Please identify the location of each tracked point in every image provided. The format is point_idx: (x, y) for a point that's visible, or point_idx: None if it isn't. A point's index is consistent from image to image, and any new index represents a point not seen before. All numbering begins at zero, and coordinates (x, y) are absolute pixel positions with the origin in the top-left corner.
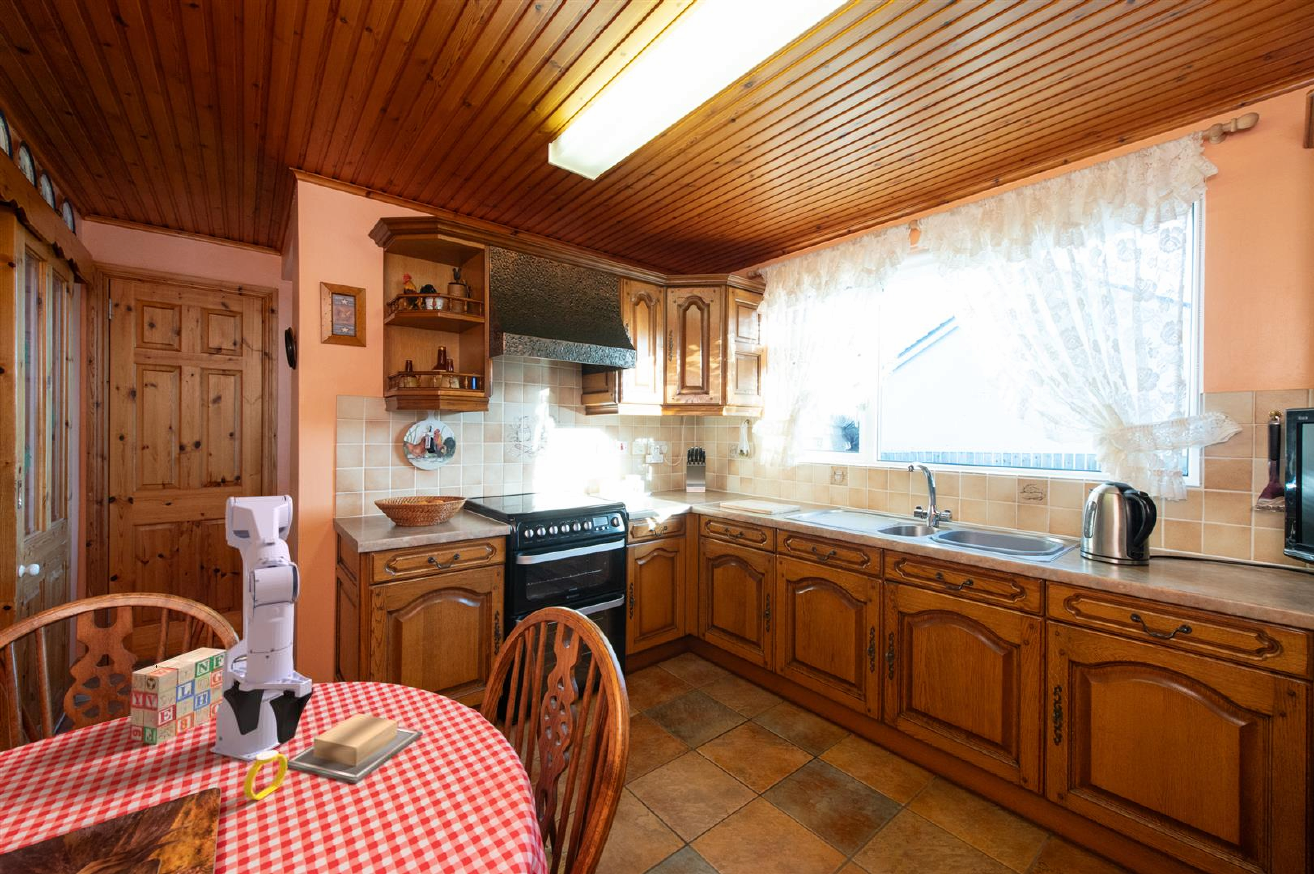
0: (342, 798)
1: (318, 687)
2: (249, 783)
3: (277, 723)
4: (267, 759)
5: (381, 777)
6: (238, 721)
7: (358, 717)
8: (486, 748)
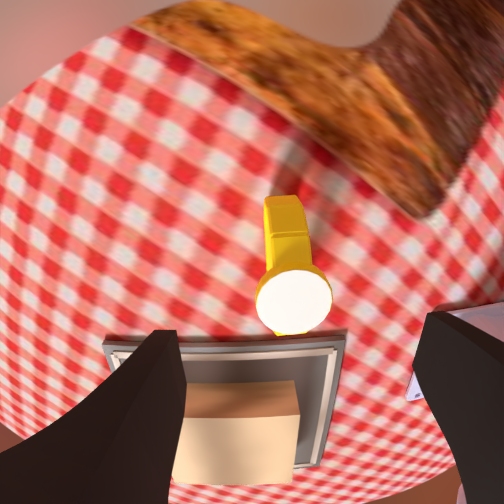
0: (78, 294)
1: None
2: (274, 204)
3: (120, 404)
4: (262, 283)
5: (84, 366)
6: (486, 340)
7: (273, 477)
8: None
